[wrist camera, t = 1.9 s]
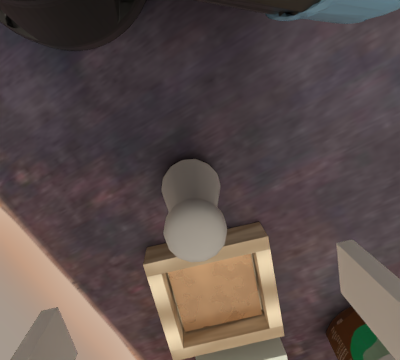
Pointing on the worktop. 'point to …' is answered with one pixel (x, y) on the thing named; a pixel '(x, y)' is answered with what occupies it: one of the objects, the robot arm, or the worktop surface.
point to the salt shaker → (193, 211)
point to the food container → (355, 338)
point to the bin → (250, 352)
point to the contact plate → (216, 292)
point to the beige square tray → (226, 332)
